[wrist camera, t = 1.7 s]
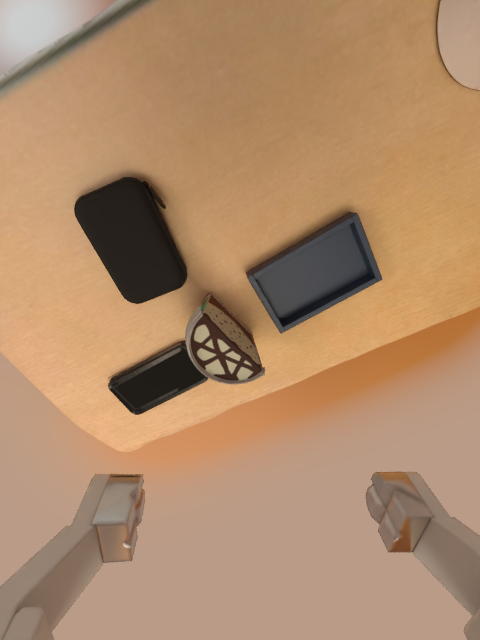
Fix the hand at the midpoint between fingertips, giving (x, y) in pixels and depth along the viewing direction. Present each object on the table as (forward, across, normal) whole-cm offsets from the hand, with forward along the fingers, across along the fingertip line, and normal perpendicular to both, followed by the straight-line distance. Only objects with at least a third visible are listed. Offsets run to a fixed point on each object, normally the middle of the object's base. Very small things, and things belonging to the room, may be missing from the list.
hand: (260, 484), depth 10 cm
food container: (+34, +1, +10) cm, 36 cm away
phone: (+34, +10, +20) cm, 41 cm away
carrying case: (+34, +12, -2) cm, 36 cm away
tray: (+34, -12, +1) cm, 36 cm away
